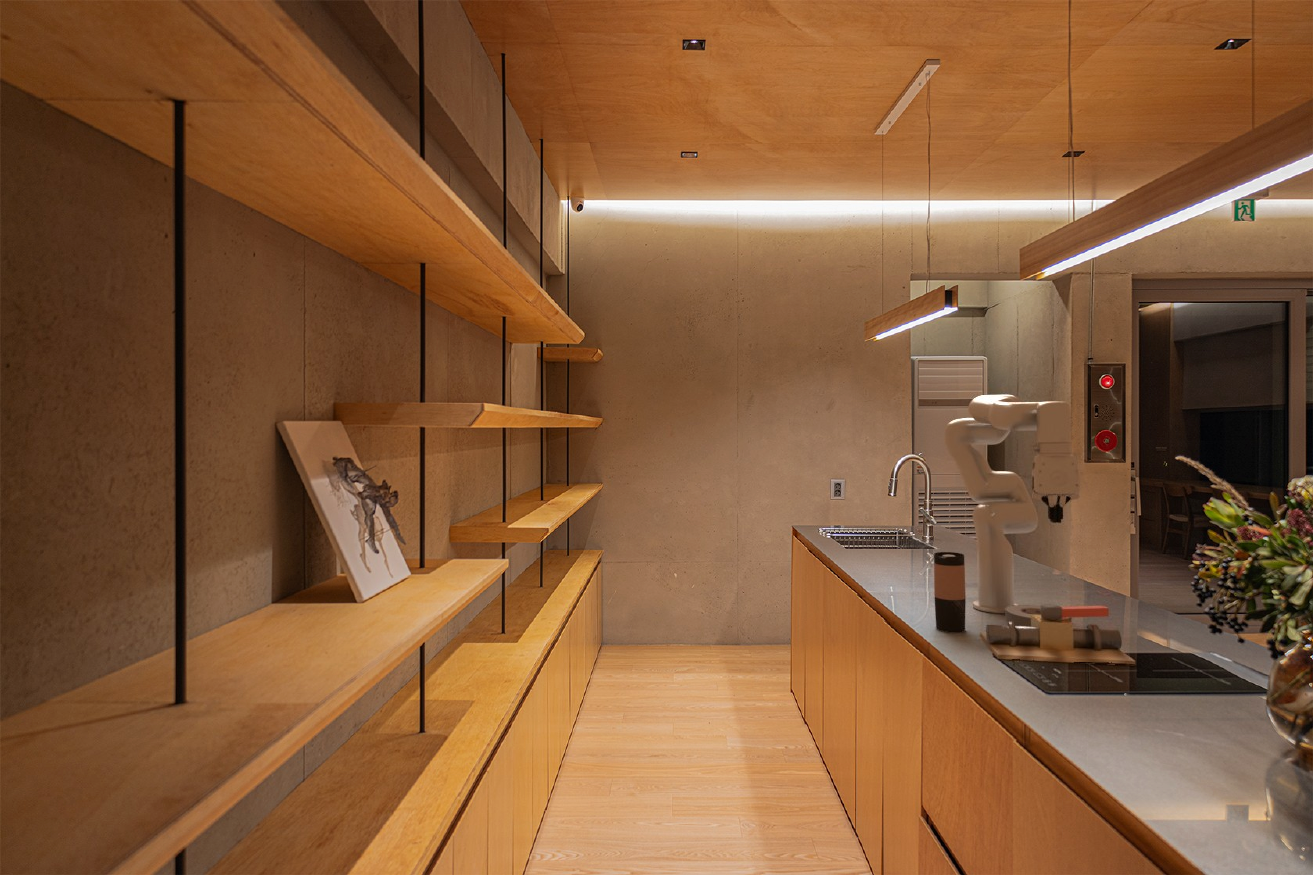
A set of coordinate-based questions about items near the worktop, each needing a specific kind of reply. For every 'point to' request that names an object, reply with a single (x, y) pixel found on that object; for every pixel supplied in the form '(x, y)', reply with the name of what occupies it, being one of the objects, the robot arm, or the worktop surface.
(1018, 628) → the valve
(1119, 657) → the mount board
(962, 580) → the travel mug
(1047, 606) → the lever
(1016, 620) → the tape roll
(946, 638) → the worktop surface
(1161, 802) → the worktop surface
